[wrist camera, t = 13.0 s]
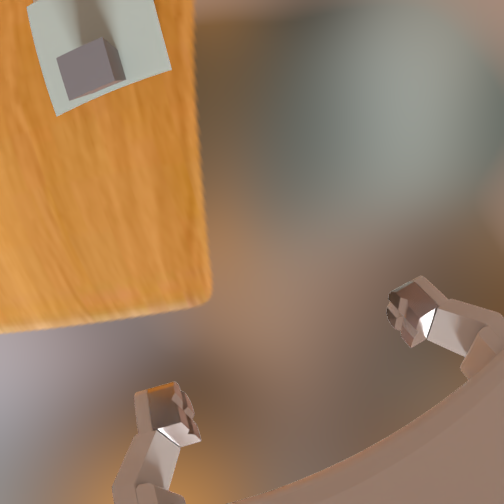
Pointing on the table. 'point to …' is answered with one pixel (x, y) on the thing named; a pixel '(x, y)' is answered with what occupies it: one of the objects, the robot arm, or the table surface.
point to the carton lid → (95, 47)
